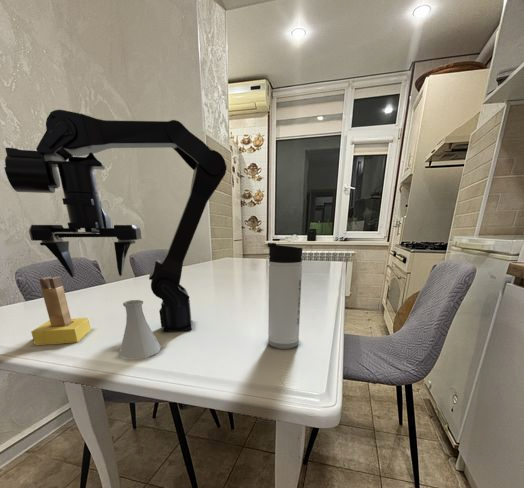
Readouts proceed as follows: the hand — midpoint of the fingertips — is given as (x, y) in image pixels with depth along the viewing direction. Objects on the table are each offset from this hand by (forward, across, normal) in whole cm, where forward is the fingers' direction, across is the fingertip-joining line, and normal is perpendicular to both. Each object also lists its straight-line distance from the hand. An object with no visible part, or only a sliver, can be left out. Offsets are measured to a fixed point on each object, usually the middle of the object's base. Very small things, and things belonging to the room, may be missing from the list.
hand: (97, 276), depth 61 cm
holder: (+13, +9, 0) cm, 16 cm away
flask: (+13, -9, +12) cm, 20 cm away
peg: (+13, +9, 0) cm, 16 cm away
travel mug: (+13, -37, +13) cm, 41 cm away
